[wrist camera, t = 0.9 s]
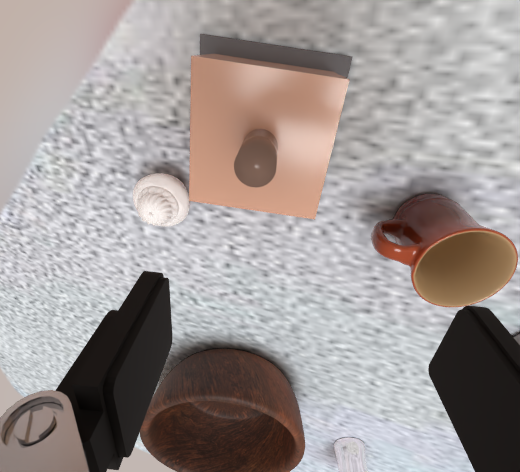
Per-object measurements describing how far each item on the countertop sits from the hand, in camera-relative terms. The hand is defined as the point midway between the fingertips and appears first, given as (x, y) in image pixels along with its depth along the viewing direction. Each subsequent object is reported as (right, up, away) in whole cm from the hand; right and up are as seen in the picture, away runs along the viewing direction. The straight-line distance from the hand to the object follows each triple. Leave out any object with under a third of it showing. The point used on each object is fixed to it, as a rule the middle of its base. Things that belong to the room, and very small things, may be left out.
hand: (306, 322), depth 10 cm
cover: (-1, +14, +22) cm, 26 cm away
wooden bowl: (-7, -23, +46) cm, 52 cm away
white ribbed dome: (-12, +9, +27) cm, 31 cm away
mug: (+16, +5, +27) cm, 32 cm away
